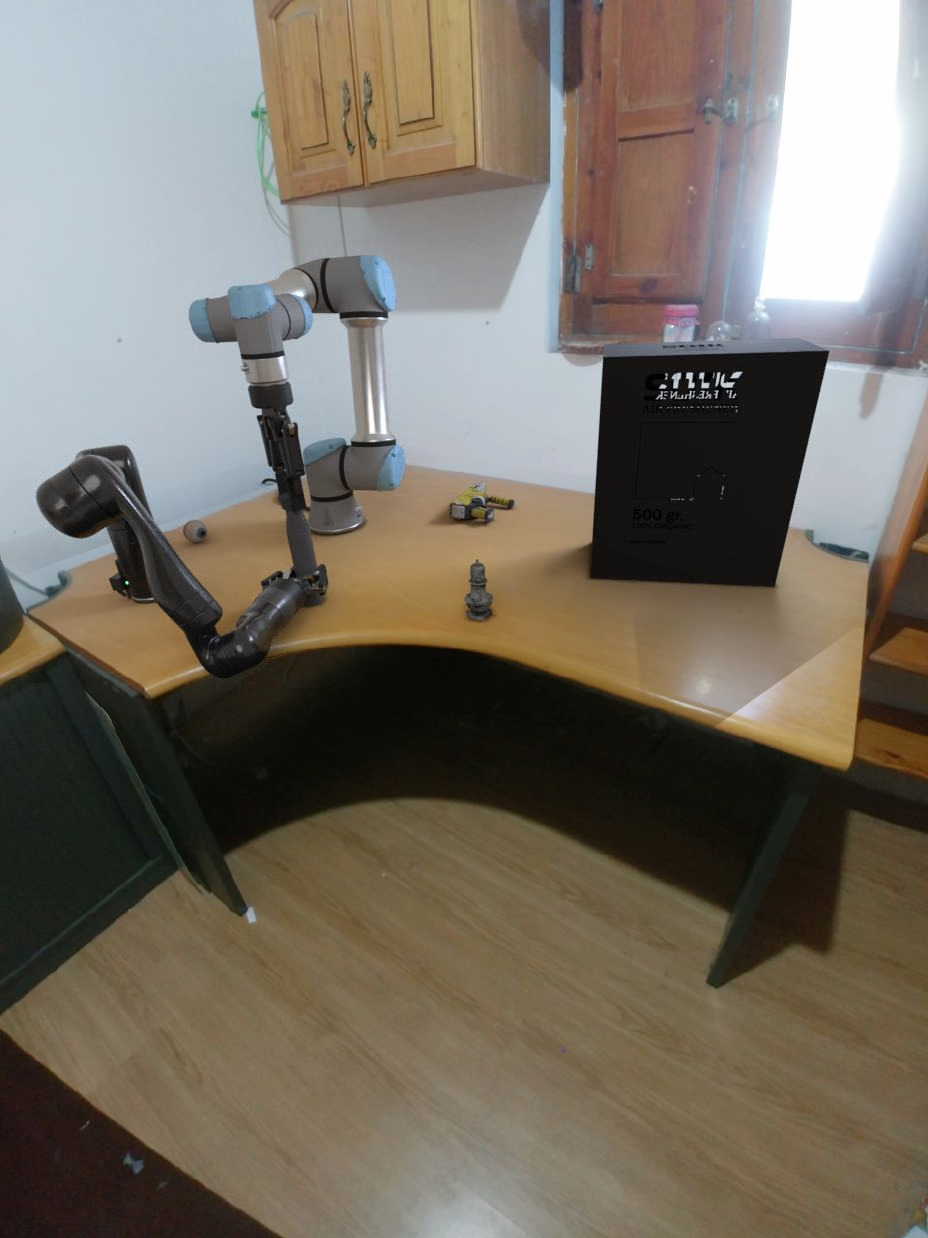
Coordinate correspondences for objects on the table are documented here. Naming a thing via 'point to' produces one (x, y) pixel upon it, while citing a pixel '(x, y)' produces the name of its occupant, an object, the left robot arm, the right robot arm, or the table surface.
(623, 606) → the table surface
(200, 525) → the eyeball
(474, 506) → the toy gun
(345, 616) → the table surface
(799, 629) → the table surface
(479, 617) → the grey chess piece
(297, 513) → the bottle
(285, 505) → the cap
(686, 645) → the table surface
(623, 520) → the cardboard box
